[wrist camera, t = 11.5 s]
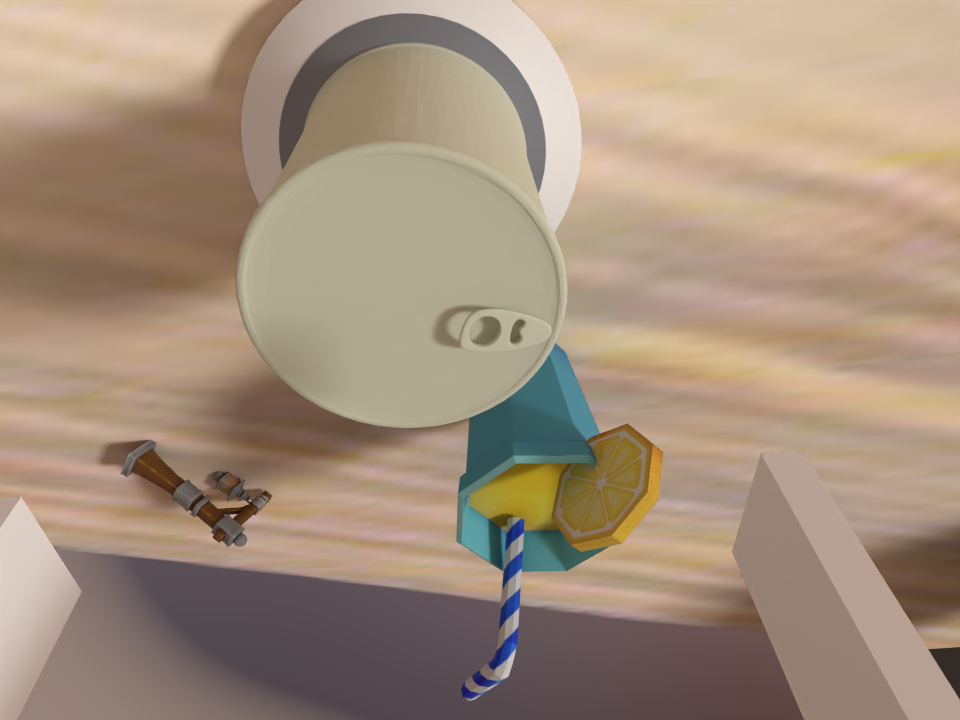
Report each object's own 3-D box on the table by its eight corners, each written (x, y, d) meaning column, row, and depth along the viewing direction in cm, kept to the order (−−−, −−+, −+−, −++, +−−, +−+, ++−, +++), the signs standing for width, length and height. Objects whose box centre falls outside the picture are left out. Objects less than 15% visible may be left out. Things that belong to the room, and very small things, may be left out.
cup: (516, 479, 42) (549, 729, 30) (399, 445, 39) (383, 699, 27) (638, 303, 34) (747, 537, 22) (503, 248, 32) (543, 477, 20)
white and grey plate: (568, 280, 33) (573, 296, 32) (286, 295, 33) (280, 312, 32) (585, -47, 25) (593, -43, 24) (209, -31, 25) (197, -26, 23)
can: (495, 277, 31) (521, 459, 22) (294, 239, 30) (224, 418, 20) (554, 73, 26) (622, 193, 16) (314, 13, 24) (231, 106, 15)
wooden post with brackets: (276, 515, 41) (230, 562, 37) (174, 437, 41) (117, 476, 37) (287, 497, 40) (241, 544, 36) (183, 418, 41) (125, 455, 37)
